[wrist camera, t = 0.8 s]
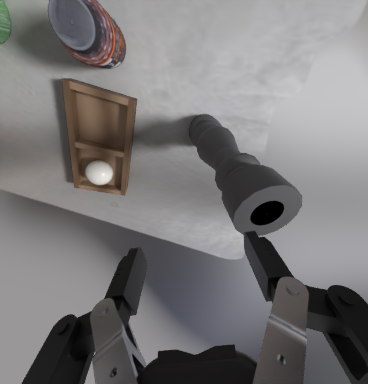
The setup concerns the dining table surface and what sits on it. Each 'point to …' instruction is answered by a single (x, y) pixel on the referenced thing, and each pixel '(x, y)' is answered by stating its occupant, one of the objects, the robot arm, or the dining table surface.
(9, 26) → the ramekin
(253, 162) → the grey turned candlestick
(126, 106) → the holder
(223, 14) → the dining table surface
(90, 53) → the supplement bottle
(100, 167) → the egg
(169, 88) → the dining table surface
